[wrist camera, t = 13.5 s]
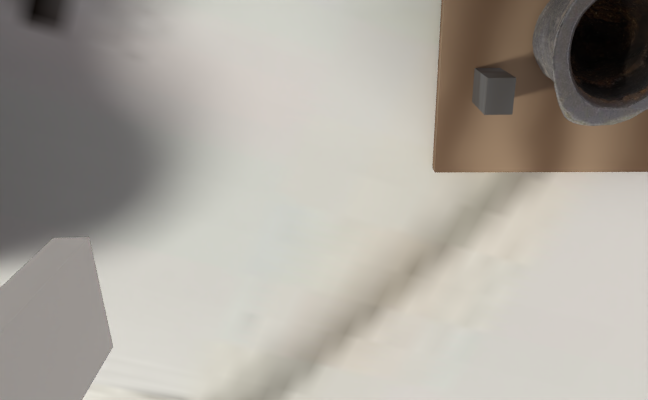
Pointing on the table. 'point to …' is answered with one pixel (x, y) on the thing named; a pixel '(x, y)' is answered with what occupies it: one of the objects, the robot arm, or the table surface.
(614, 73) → the pipe
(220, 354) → the table surface
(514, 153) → the collar cradle
